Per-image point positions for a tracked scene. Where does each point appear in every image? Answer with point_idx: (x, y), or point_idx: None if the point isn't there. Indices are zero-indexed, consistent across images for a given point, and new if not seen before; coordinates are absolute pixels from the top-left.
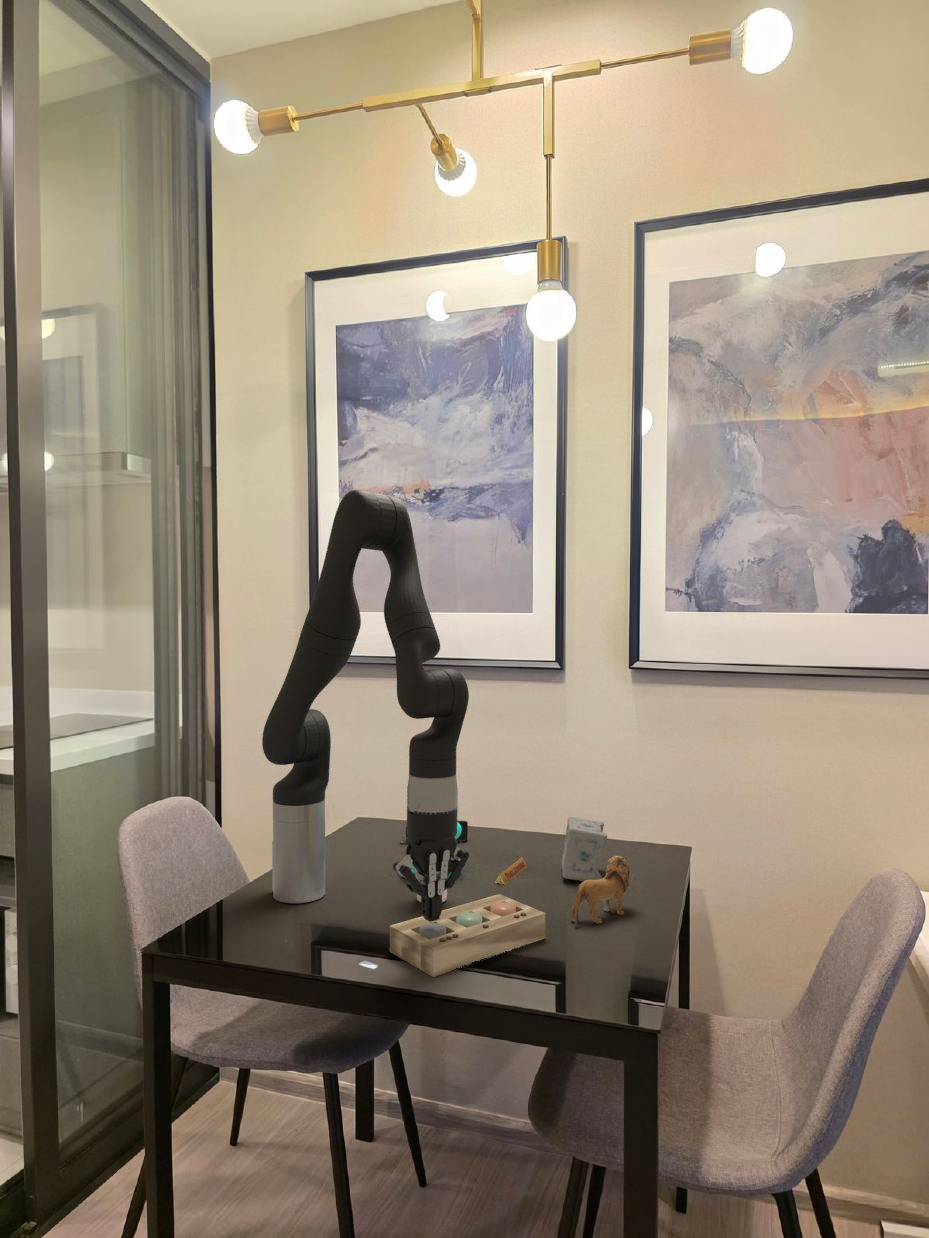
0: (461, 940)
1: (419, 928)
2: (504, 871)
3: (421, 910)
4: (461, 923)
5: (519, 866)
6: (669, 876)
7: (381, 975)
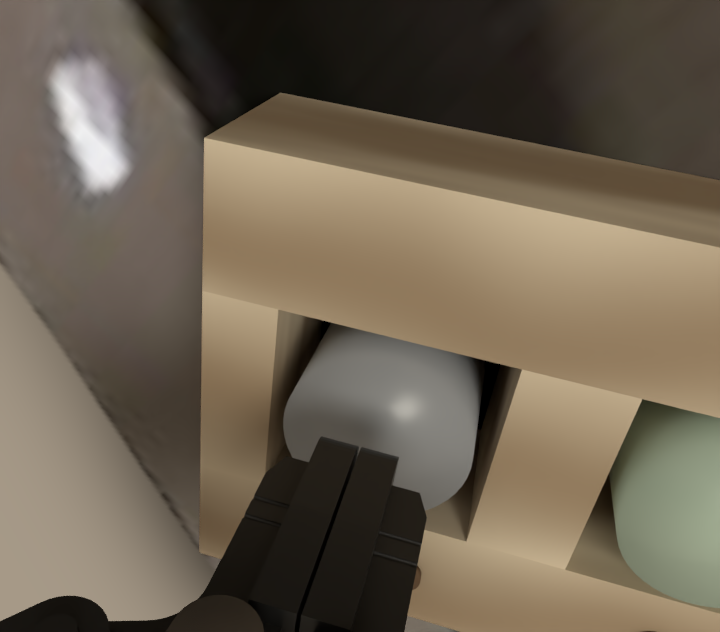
0: None
1: (305, 378)
2: None
3: (258, 491)
4: (614, 514)
5: None
6: None
7: (86, 268)
